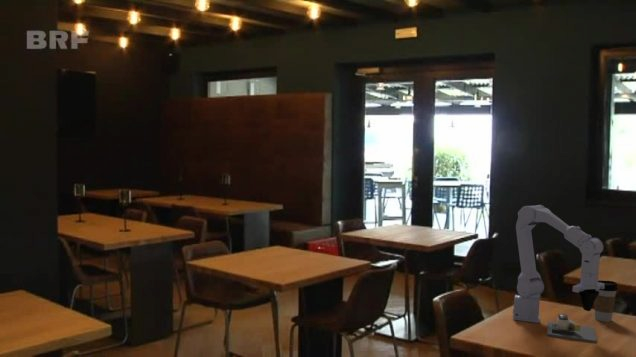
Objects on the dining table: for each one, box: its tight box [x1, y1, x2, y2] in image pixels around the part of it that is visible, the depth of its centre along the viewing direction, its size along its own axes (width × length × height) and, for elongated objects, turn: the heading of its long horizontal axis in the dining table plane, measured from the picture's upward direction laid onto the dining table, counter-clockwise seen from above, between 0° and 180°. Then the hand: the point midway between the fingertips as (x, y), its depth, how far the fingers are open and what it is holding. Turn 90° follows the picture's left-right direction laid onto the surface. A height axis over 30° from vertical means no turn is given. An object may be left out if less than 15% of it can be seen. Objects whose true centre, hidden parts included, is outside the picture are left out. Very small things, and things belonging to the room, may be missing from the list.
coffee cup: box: [593, 280, 618, 323], centre depth 238 cm, size 8×8×15 cm
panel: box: [546, 320, 598, 344], centre depth 221 cm, size 16×16×2 cm
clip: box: [557, 313, 582, 331], centre depth 222 cm, size 12×3×2 cm, turn 6°
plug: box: [555, 315, 570, 331], centre depth 220 cm, size 5×5×5 cm
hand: (587, 310), depth 217 cm, fingers closed
